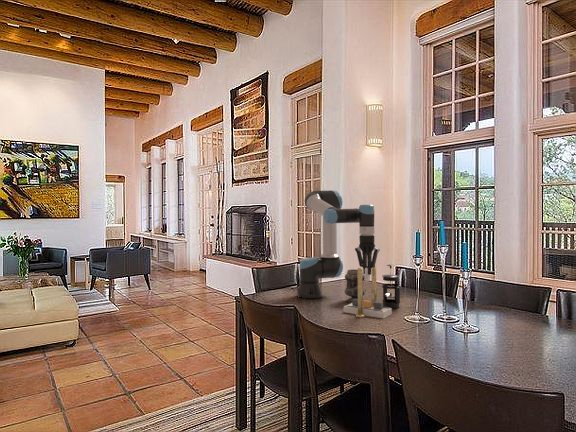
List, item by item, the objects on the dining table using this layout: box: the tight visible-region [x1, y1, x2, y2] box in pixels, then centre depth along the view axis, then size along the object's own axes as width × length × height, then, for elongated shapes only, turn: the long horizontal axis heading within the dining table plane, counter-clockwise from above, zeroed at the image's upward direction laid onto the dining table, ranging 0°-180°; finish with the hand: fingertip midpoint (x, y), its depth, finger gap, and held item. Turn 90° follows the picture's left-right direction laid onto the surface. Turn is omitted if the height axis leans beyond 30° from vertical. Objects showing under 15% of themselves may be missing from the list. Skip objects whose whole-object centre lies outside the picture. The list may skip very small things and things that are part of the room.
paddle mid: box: [363, 299, 372, 308], centre depth 214 cm, size 4×2×3 cm, turn 53°
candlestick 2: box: [371, 263, 377, 305], centre depth 220 cm, size 4×4×24 cm
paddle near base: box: [352, 299, 358, 306], centre depth 218 cm, size 4×2×3 cm, turn 53°
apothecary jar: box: [343, 268, 366, 304], centre depth 242 cm, size 12×12×18 cm
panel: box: [343, 302, 393, 319], centre depth 214 cm, size 22×10×3 cm, turn 53°
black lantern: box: [381, 264, 401, 310], centre depth 226 cm, size 12×9×23 cm
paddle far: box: [374, 301, 383, 309], centre depth 211 cm, size 4×2×3 cm, turn 53°
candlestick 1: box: [355, 267, 366, 319], centre depth 208 cm, size 4×4×24 cm
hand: (367, 280), depth 214 cm, fingers closed
